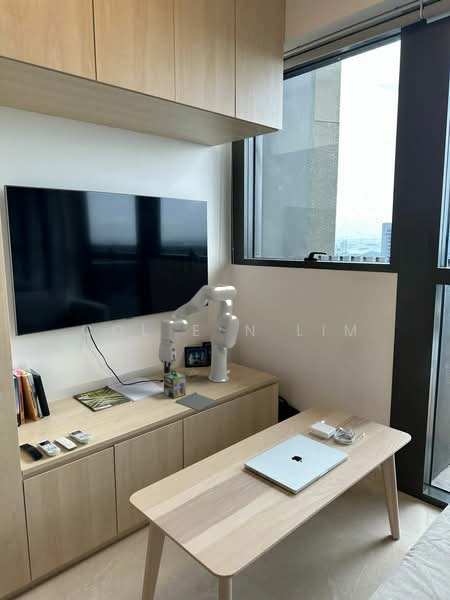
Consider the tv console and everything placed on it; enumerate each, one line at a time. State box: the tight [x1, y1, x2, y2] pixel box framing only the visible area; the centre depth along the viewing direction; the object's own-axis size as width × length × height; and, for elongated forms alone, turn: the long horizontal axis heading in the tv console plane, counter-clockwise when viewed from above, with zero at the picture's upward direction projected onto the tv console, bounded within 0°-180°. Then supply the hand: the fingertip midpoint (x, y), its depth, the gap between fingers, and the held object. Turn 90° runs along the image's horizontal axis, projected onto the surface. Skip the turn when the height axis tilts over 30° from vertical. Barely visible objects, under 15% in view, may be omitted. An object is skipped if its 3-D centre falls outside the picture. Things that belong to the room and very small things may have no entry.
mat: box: [175, 391, 218, 412], centre depth 217 cm, size 16×16×1 cm
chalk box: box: [163, 368, 187, 400], centre depth 225 cm, size 9×9×15 cm
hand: (166, 372), depth 229 cm, fingers closed
